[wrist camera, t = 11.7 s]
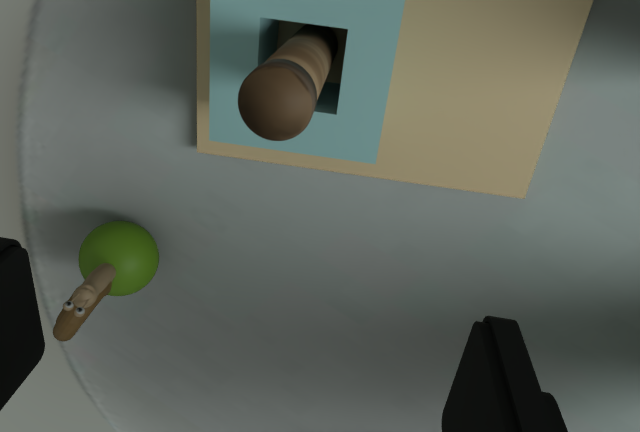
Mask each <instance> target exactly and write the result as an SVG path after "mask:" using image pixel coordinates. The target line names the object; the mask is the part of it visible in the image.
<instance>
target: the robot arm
mask: <svg viewBox="0 0 640 432" xmlns="http://www.w3.org/2000/svg"><path fill="white" fill-rule="evenodd" d="M44 348H45V342H44V336H43V331H42V326H41V321H40V315H39V310H38V304H37V300H36V294H35V288H34V283H33V278H32V272H31V267H30V262H29V256H28V253H27V251H26V249H24V248H22V247H21V244H20V243H19V242H18V241H17V240H14V239H8V238H1V237H0V410H1V409H2V408H3V407H4V405H5V404H6V403H7V402H8V400H9V399H10V398H11V396H12V395H13V394H14V393H15V391H16V390H17V389H18V388H19V386H20V385H21V384H22V383H23V381H24V380H25V379H26V378H27V376H28V375H29V374H30V373H31V371H32V370H33V369H34V368H35V366H36V365H37V364H38V362H39V361H40V360H41V358H42V355H43V353H44ZM442 432H568V431H567V428H566V426H565V423H564V420H563V418H562V415H561V412H560V410H559V407H558V404H557V402H556V400H555V398H554V397H553V396H552V395H551V394H550V393H546V392H541V389H540V386H539V383H538V380H537V377H536V374H535V371H534V369H533V366H532V363H531V360H530V357H529V354H528V351H527V348H526V346H525V343H524V340H523V337H522V334H521V331H520V328H519V325H518V323H517V322H516V321H515V320H511V319H505V318H499V317H492V316H486V317H485V318H484V320H483V322H478V321H476V322H475V323H474V324H473V326H472V329H471V332H470V335H469V338H468V341H467V344H466V347H465V349H464V352H463V355H462V358H461V361H460V364H459V367H458V370H457V373H456V375H455V378H454V381H453V384H452V387H451V390H450V393H449V396H448V399H447V401H446V404H445V407H444V410H443V415H442Z"/></svg>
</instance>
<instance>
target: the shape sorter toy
mask: <svg viewBox="0 0 640 432" xmlns="http://www.w3.org/2000/svg"><path fill="white" fill-rule="evenodd" d="M592 3H593V0H196V19H197V152H199V153H206V154H213V155H220V156H227V157H234V158H241V159H248V160H255V161H262V162H269V163H276V164H283V165H290V166H297V167H304V168H311V169H318V170H325V171H332V172H339V173H346V174H353V175H360V176H367V177H374V178H381V179H388V180H396V181H403V182H410V183H417V184H424V185H431V186H438V187H445V188H452V189H459V190H466V191H473V192H480V193H487V194H494V195H501V196H508V197H515V198H522V199H525V196H526V193H527V190H528V187H529V184H530V181H531V179H532V176H533V173H534V170H535V167H536V164H537V161H538V158H539V156H540V153H541V150H542V147H543V144H544V141H545V138H546V135H547V133H548V130H549V127H550V124H551V121H552V118H553V115H554V112H555V110H556V107H557V104H558V101H559V98H560V95H561V92H562V89H563V86H564V84H565V81H566V78H567V75H568V72H569V69H570V66H571V63H572V61H573V58H574V55H575V52H576V49H577V46H578V43H579V40H580V38H581V35H582V32H583V29H584V26H585V23H586V20H587V17H588V15H589V12H590V9H591V6H592ZM306 24H314V25H321V26H329V27H330V28H331V29H332V30H333V31H334V33H335V35H336V37H337V41H338V49H337V53H336V56H335V58H334V61H333V63H332V66H331V68H330V70H329V73H328V75H327V78H326V80H325V83H324V85H323V88H322V90H321V92H320V95H319V97H318V100H317V104H316V108H315V111H314V113H313V116H312V118H311V120H310V122H309V124H308V126H307V127H306V128H305V130H304V131H303V132H301V133H300V134H299V135H297V136H296V137H294V138H292V139H289V140H285V141H271V140H267V139H264V138H262V137H260V136H258V135H256V134H255V133H254V132H252V131H251V130H250V129H249V128H248V127H247V126H246V124H245V123H244V121H243V119H242V117H241V115H240V112H239V109H238V93H239V89H240V86H241V84H242V82H243V81H244V79H245V78H246V77H247V76H248V75H249V74H250V73H251V72H252V71H253V70H254V69H255V68H256V67H257V66H259V65H260V64H262V63H264V62H265V61H266V60H267V59H268V58H269V57H270V56H271V55H272V54H274V53H275V52H276V51H277V50H278V49H279V48H280V47H281V46H282V45H283V44H284V43H285V42H286V41H288V40H289V39H290V38H291V37H292V36H293V35H294V34H295V33H296V32H297V31H298V30H299V29H301V28H302V27H303V26H304V25H306Z"/></svg>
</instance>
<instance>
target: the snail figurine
mask: <svg viewBox="0 0 640 432" xmlns="http://www.w3.org/2000/svg"><path fill="white" fill-rule="evenodd" d="M158 263H159V252H158V248H157V245H156V242H155V240H154V239H153V237H152V236H151V235H150V234H149V232H147V231H146V230H145V229H144V228H142V227H141V226H139V225H137V224H134V223H131V222H127V221H113V222H108V223H105V224H103V225H101V226H99V227H97V228H95V229H94V230H93V231H92V232H91V233H90V234H89V235H88V236H87V237H86V238H85V240H84V241H83V243H82V245H81V248H80V251H79V268H80V271H81V274H82V276H83V278H84V279H85V281H84V283H83V284H82V285H81V286H79V287H78V288H77V289H76V290H75V291H74V293H73V295H72V296H71V297H70V299H69V300H68V301H66V302H65V303H64V304H63V309H62V311H61V312H60V314H59V316H58V317H57V320H56V324H55V326H54V328H53V335H54V337H55V338H56V339H57V340H59V341H67V340H70V339H71V338H72V337H73V336H74V335H75V333H76V332H77V331H78V329H79V328H80V326H81V325H82V324H83V323H84V321H85V320H86V319H87V317H88V316H89V315H90V313H91V312H92V311H93V309H94V308H95V307H96V306H97V304H98V303H99V302H100V301H101V299H102V298H103V297H104V296H106V295H110V296H125V295H129V294H132V293H135V292H137V291H139V290H140V289H142V288H143V287H145V286H146V285H147V284H148V283H149V282H150V281H151V279H152V278H153V276H154V275H155V273H156V270H157V267H158Z"/></svg>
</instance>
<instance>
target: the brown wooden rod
mask: <svg viewBox="0 0 640 432" xmlns="http://www.w3.org/2000/svg"><path fill="white" fill-rule="evenodd" d="M337 49H338V41H337V37H336V35H335V33H334V31H333V30H332V29H331V28H330V27H329V26H321V25H314V24H306V25H304V26H303V27H302V28H301V29H299V30H298V31H297V32H296V33H295V34H294V35H293V36H292V37H291V38H290V39H289V40H288V41H286V42H285V43H284V44H283V45H282V46H281V47H280V48H279V49H278V50H277V51H276V52H275V53H274V54H272V55H271V56H270V57H269V58H268V59H267V60H266V61H265V62H264V63H262V64H260V65H259V66H257V67H256V68H255V69H254V70H253V71H252V72H251V73H250V74H249V75H248V76H247V77H246V78H245V79H244V81H243V82H242V84H241V86H240V89H239V93H238V109H239V112H240V115H241V117H242V119H243V121H244V123H245V124H246V126H247V127H248V128H249V129H250V130H251V131H252V132H254V133H255V134H256V135H258V136H260V137H262V138H264V139H267V140H271V141H285V140H289V139H292V138H294V137H296V136H297V135H299V134H300V133H301V132H303V131H304V130H305V128H306V127H307V126H308V124H309V122H310V120H311V118H312V116H313V113H314V111H315V108H316V104H317V100H318V97H319V95H320V92H321V90H322V88H323V85H324V83H325V80H326V78H327V75H328V73H329V70H330V68H331V66H332V63H333V61H334V58H335V56H336V53H337Z"/></svg>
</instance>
